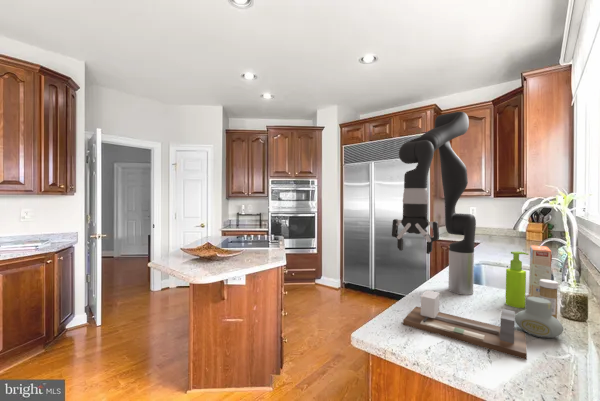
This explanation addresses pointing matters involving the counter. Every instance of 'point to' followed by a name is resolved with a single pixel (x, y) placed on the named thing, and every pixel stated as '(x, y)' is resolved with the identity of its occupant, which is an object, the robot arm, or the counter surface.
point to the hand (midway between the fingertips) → (414, 251)
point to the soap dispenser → (516, 282)
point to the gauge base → (474, 331)
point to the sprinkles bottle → (549, 293)
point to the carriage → (430, 304)
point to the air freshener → (538, 319)
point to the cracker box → (539, 268)
